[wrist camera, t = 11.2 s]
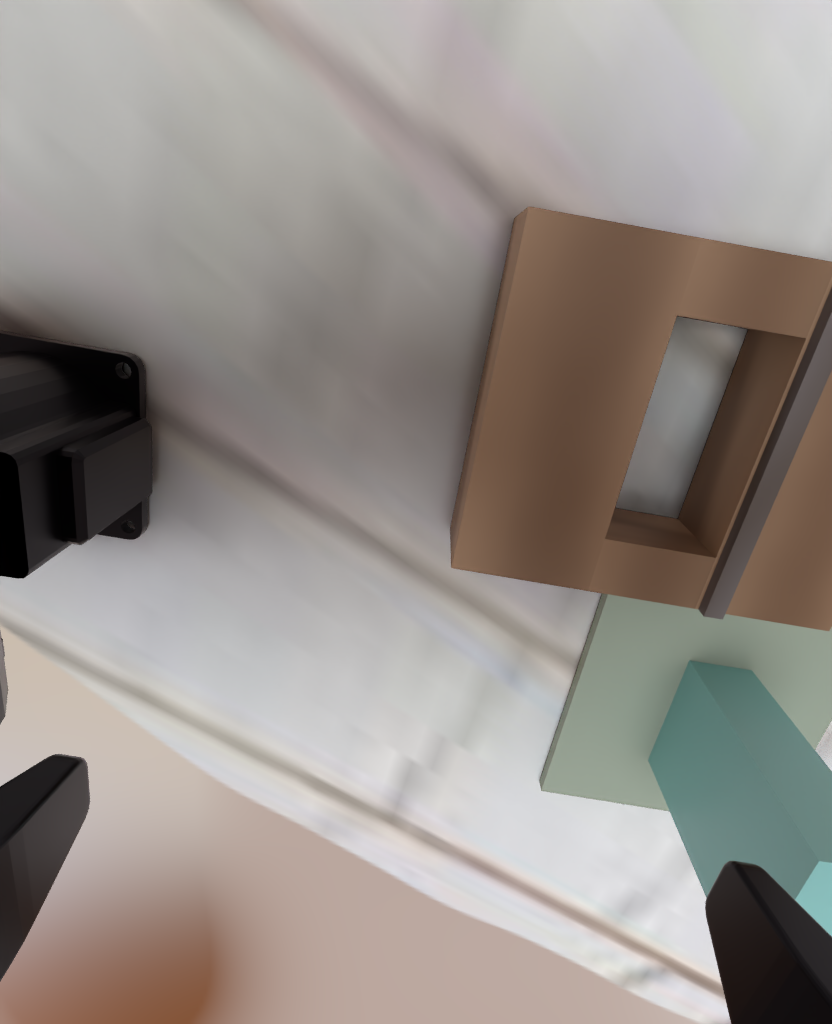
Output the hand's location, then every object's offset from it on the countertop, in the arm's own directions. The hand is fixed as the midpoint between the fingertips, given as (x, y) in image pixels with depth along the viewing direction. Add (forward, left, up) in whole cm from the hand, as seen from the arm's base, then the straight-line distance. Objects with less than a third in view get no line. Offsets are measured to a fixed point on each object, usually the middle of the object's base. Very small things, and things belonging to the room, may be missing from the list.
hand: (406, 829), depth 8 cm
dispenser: (+7, +4, -13) cm, 15 cm away
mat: (+12, -7, -13) cm, 19 cm away
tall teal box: (+12, -7, -12) cm, 19 cm away
